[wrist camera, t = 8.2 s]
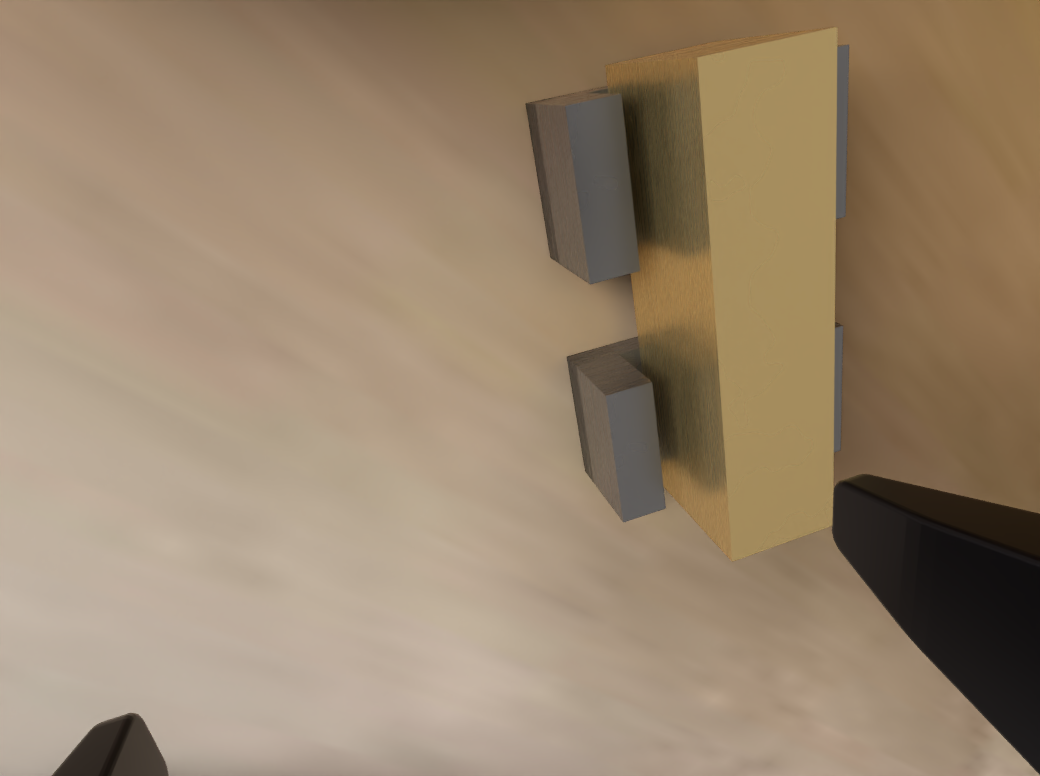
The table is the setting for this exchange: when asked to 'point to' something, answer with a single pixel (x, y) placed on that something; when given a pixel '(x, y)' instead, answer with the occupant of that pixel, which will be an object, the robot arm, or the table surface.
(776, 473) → the tan rectangular block
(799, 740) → the table surface
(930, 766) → the table surface
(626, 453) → the bracket
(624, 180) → the near chain end
